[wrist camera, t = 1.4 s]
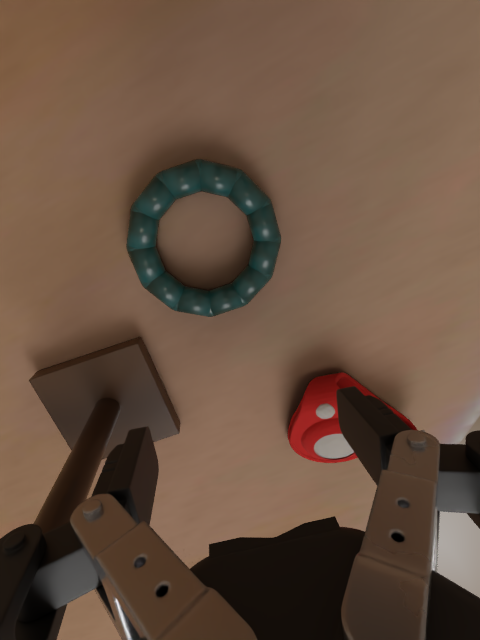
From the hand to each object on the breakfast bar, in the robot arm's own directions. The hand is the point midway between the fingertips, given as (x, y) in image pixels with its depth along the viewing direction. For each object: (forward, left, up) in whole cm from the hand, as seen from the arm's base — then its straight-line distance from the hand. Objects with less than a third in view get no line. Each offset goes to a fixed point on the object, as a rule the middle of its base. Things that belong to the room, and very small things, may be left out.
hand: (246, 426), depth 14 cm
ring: (-6, +1, -14) cm, 15 cm away
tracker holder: (+14, +8, -15) cm, 22 cm away
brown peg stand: (+4, -11, -15) cm, 19 cm away
